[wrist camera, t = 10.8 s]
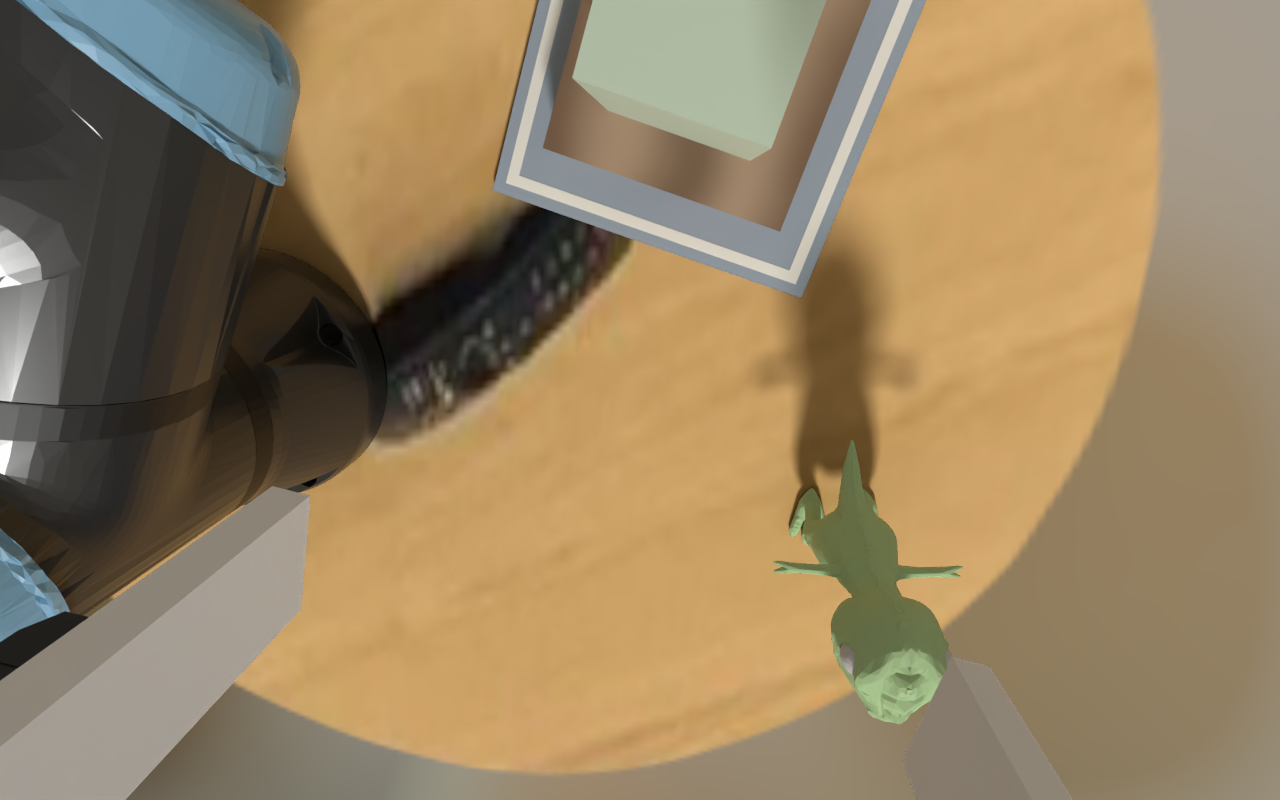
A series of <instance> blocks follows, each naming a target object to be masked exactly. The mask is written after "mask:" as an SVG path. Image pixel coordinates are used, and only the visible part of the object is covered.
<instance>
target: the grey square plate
mask: <svg viewBox="0 0 1280 800" xmlns="http://www.w3.org/2000/svg"><path fill="white" fill-rule="evenodd" d="M925 2H926V0H871V2H870V5H869V7H868V10H867V12H866V15H865V17H864V20H863V22H862V25H861V27H860V30H859V33H858V35H857V38H856V40H855V43H854V45H853V48H852V50H851V53H850V55H849V58H848V60H847V63H846V66H845V68H844V71H843V73H842V76H841V78H840V81H839V83H838V86H837V88H836V91H835V94H834V96H833V99H832V101H831V104H830V106H829V109H828V111H827V114H826V116H825V119H824V121H823V124H822V127H821V129H820V132H819V134H818V137H817V139H816V142H815V144H814V147H813V149H812V152H811V155H810V157H809V160H808V162H807V165H806V167H805V170H804V172H803V175H802V177H801V180H800V182H799V185H798V188H797V190H796V193H795V195H794V198H793V200H792V203H791V205H790V208H789V210H788V213H787V215H786V218H785V221H784V223H783V226H782V228H781V231H777V230H774V229H771V228H768V227H765V226H762V225H760V224H757V223H754V222H751V221H748V220H745V219H743V218H740V217H737V216H734V215H731V214H728V213H726V212H723V211H720V210H717V209H714V208H711V207H709V206H706V205H703V204H700V203H697V202H694V201H692V200H689V199H686V198H683V197H680V196H677V195H674V194H672V193H669V192H666V191H663V190H660V189H657V188H655V187H652V186H649V185H646V184H643V183H640V182H638V181H635V180H632V179H629V178H626V177H623V176H621V175H618V174H615V173H612V172H609V171H606V170H604V169H601V168H598V167H595V166H592V165H589V164H586V163H584V162H581V161H578V160H575V159H572V158H569V157H567V156H564V155H561V154H558V153H555V152H552V151H550V150H547V149H544V148H543V145H544V141H545V137H546V133H547V130H548V126H549V122H550V118H551V114H552V110H553V107H554V103H555V99H556V95H557V91H558V88H559V84H560V80H561V76H562V72H563V68H564V65H565V61H566V57H567V53H568V49H569V46H570V42H571V38H572V34H573V30H574V27H575V23H576V19H577V15H578V11H579V7H580V4H581V0H539V2H538V6H537V10H536V14H535V19H534V23H533V27H532V31H531V35H530V39H529V43H528V47H527V51H526V56H525V60H524V64H523V68H522V72H521V76H520V80H519V84H518V89H517V93H516V97H515V101H514V105H513V109H512V113H511V117H510V121H509V126H508V130H507V134H506V138H505V142H504V146H503V150H502V154H501V159H500V163H499V167H498V171H497V175H496V179H495V183H494V187H493V191H496V192H499V193H502V194H505V195H508V196H511V197H513V198H516V199H519V200H522V201H525V202H528V203H531V204H533V205H536V206H539V207H542V208H545V209H548V210H551V211H553V212H556V213H559V214H562V215H565V216H568V217H571V218H573V219H576V220H579V221H582V222H585V223H588V224H591V225H593V226H596V227H599V228H602V229H605V230H608V231H611V232H613V233H616V234H619V235H622V236H625V237H628V238H630V239H633V240H636V241H639V242H642V243H645V244H648V245H650V246H653V247H656V248H659V249H662V250H665V251H668V252H670V253H673V254H676V255H679V256H682V257H685V258H688V259H690V260H693V261H696V262H699V263H702V264H705V265H708V266H710V267H713V268H716V269H719V270H722V271H725V272H728V273H730V274H733V275H736V276H739V277H742V278H745V279H748V280H750V281H753V282H756V283H759V284H762V285H765V286H768V287H770V288H773V289H776V290H779V291H782V292H785V293H788V294H790V295H793V296H796V297H799V298H802V296H803V293H804V291H805V288H806V286H807V284H808V281H809V279H810V276H811V274H812V272H813V269H814V267H815V265H816V262H817V260H818V257H819V255H820V253H821V250H822V248H823V245H824V243H825V241H826V238H827V236H828V233H829V231H830V229H831V226H832V224H833V222H834V219H835V217H836V214H837V212H838V210H839V207H840V205H841V202H842V200H843V198H844V195H845V193H846V190H847V188H848V186H849V183H850V181H851V179H852V176H853V174H854V171H855V169H856V167H857V164H858V162H859V159H860V157H861V155H862V152H863V150H864V147H865V145H866V143H867V140H868V138H869V136H870V133H871V131H872V128H873V126H874V124H875V121H876V119H877V116H878V114H879V112H880V109H881V107H882V104H883V102H884V100H885V97H886V95H887V93H888V90H889V88H890V85H891V83H892V81H893V78H894V76H895V73H896V71H897V69H898V66H899V64H900V61H901V59H902V57H903V54H904V52H905V49H906V47H907V45H908V42H909V40H910V38H911V35H912V33H913V30H914V28H915V26H916V23H917V21H918V18H919V16H920V14H921V11H922V9H923V6H924V4H925Z"/></svg>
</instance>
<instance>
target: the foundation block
mask: <svg viewBox="0 0 1280 800" xmlns="http://www.w3.org/2000/svg"><path fill="white" fill-rule="evenodd" d="M592 1H593V0H581V4H580V7H579V11H578V15H577V19H576V23H575V27H574V30H573V34H572V38H571V42H570V46H569V49H568V53H567V57H566V61H565V65H564V68H563V72H562V76H561V80H560V84H559V88H558V91H557V95H556V99H555V103H554V107H553V110H552V114H551V118H550V122H549V126H548V130H547V133H546V137H545V141H544V145H543V148H544V149H547V150H550V151H552V152H555V153H558V154H561V155H564V156H567V157H569V158H572V159H575V160H578V161H581V162H584V163H586V164H589V165H592V166H595V167H598V168H601V169H604V170H606V171H609V172H612V173H615V174H618V175H621V176H623V177H626V178H629V179H632V180H635V181H638V182H640V183H643V184H646V185H649V186H652V187H655V188H657V189H660V190H663V191H666V192H669V193H672V194H674V195H677V196H680V197H683V198H686V199H689V200H692V201H694V202H697V203H700V204H703V205H706V206H709V207H711V208H714V209H717V210H720V211H723V212H726V213H728V214H731V215H734V216H737V217H740V218H743V219H745V220H748V221H751V222H754V223H757V224H760V225H762V226H765V227H768V228H771V229H774V230H777V231H781V228H782V226H783V223H784V221H785V218H786V215H787V213H788V210H789V208H790V205H791V203H792V200H793V198H794V195H795V193H796V190H797V188H798V185H799V182H800V180H801V177H802V175H803V172H804V170H805V167H806V165H807V162H808V160H809V157H810V155H811V152H812V149H813V147H814V144H815V142H816V139H817V137H818V134H819V132H820V129H821V127H822V124H823V121H824V119H825V116H826V114H827V111H828V109H829V106H830V104H831V101H832V99H833V96H834V94H835V91H836V88H837V86H838V83H839V81H840V78H841V76H842V73H843V71H844V68H845V66H846V63H847V60H848V58H849V55H850V53H851V50H852V48H853V45H854V43H855V40H856V38H857V35H858V33H859V30H860V27H861V25H862V22H863V20H864V17H865V15H866V12H867V10H868V7H869V5H870V2H871V0H826V3H825V6H824V8H823V11H822V14H821V16H820V19H819V22H818V25H817V27H816V30H815V33H814V35H813V38H812V41H811V43H810V46H809V49H808V51H807V54H806V57H805V59H804V62H803V65H802V68H801V70H800V73H799V76H798V78H797V81H796V84H795V86H794V89H793V92H792V94H791V97H790V100H789V102H788V105H787V108H786V111H785V113H784V116H783V119H782V121H781V124H780V127H779V129H778V132H777V135H776V137H775V140H774V143H773V145H772V148H771V149H769V150H768V151H766V152H764V153H763V154H761V155H759V156H758V157H756V158H754V159H753V160H751V161H749V160H746V159H744V158H741V157H738V156H735V155H732V154H729V153H727V152H724V151H721V150H718V149H715V148H712V147H710V146H707V145H704V144H701V143H698V142H695V141H693V140H690V139H687V138H684V137H681V136H678V135H676V134H673V133H670V132H667V131H664V130H661V129H659V128H656V127H653V126H650V125H647V124H644V123H642V122H639V121H636V120H633V119H630V118H628V117H625V116H622V115H619V114H616V113H613V112H611V111H608V110H607V109H606V108H605V107H604V106H602V105H601V104H600V103H599V102H598V101H597V100H596V99H595V98H594V97H593V96H591V95H590V94H589V93H588V92H587V91H586V90H585V89H584V88H583V87H582V86H581V85H579V84H578V83H577V82H576V81H575V80H574V79H573V78H572V77H573V73H574V69H575V65H576V62H577V58H578V54H579V50H580V47H581V43H582V39H583V35H584V32H585V28H586V24H587V20H588V16H589V13H590V9H591V5H592Z"/></svg>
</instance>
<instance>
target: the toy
mask: <svg viewBox="0 0 1280 800" xmlns="http://www.w3.org/2000/svg"><path fill="white" fill-rule="evenodd" d="M802 523H803V529H802V540H803V543H804V544H808V545H809V546H810V547H811V548H812V550H813V552H814V554H815V556H816V558H817V559H818V561H819V563H820V564H818V565H815V564H802V563H790V562H783V561H773V563H775V564H777V565H780V566H782V567H781V568H779V569H776V570H774V572H776V573H785V574H787V573H807V574H818V575H825V576H831V577H836V578H837V579H838V580H839V582H840V583H841V584H842V585H843V586H844V587H845V588H846V589H847V590H848V592H849V593H851V595H852V598H848V599H846V600H845V601H843V602H842V603H841V604H840V605H839V606H838V608H837V609H836V611H835V613H834V615H833V618H832V621H831V633H832V638H831V640H832V642H833V653H834V655H835V657H836V659H837V661H838V663H839V666H840V668H841V669H842V670H843V672H844V673H845V675H846V677H847V678H848V680H849V682H850V683H851V685H852V687H853V688H854V690H855V692H856V693H857V695H858V696H859V697H860V699H861V700H862V702H863V704H864V705H865V707H866V709H867V711H868V713H869V714H870V715H871V716H872V717H873V718H877V719H880V720H883V721H885V722H892V723H893V722H894V723H896V724H902V722H904V721H906V720H907V719H908V717H909V716H910V714H911V713H913V712H915V711H916V710H917V709H918V708H920V707H921V706H923V705H924V704H926V703H928V702H930V701H931V699H932V697H933V695H934V693H935V691H936V689H937V687H938V685H939V683H940V681H941V679H942V677H943V675H944V673H945V671H946V669H947V667H948V665H949V663H950V661H951V659H952V654H951V652H950V651H949V650H948V646H949V645H948V642H947V641H946V640H945V638H944V635H943V632H942V631H941V628H940V626H939V623H938V621H937V619H936V617H935V616H934V614H933V613H932V611H931V610H930V609H929V608H928V607H926V606H925V605H924V604H922V603H920V602H918V601H916V600H913V599H909V598H905V597H903V596H902V595H901V594H900V592H899V590H898V588H897V585H896V582H897V581H898V580H899V579H909V578H919V577H942V578H947V577H953V578H959V577H960V575H958V574H956V573H954V572H956V571H958V570H960V569H962V568H963V567H962V566H948V567H910V566H900V565H898V550H897V540H896V536H895V534H894V532H893V530H892V529H891V528H890V526H889V525H888V524H887V523H886V522H885V521H883V520H882V519H881V518H879V517H878V514H877V507H876V503H875V502H874V500H873V499H872V497H871V496H870V495H869V493H868V492H867V491H866V490H864V489H863V486H862V479H861V473H860V466H859V462H858V457H857V452H856V448H855V443H854V440H851V441H850V445H849V448H848V452H847V455H846V459H845V463H844V466H843V471H842V479H841V486H840V494H839V502H838V507H837V508H836V509H835V511H833V512H831V513H830V514H828V515H827V516H825V517H824V513H823V508H822V504H821V501H820V499H819V497H818V495H817V493H816V492H815V490H814V489H813V488H811V489H809V490H808V491H807V492H806V493H805V494H804V495H803V496H802V498H801V499H800V500H799V503H798V506H797V509H796V511H795V514H794V517H793V520H792V522H791V525H790V528H789V532H790V535H791V536H792V537H794V536H796V535H797V534H798V532H799V531H800V529H801V526H802Z"/></svg>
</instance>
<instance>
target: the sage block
mask: <svg viewBox="0 0 1280 800" xmlns="http://www.w3.org/2000/svg"><path fill="white" fill-rule="evenodd" d="M825 3H826V0H593V1H592V5H591V9H590V13H589V16H588V20H587V24H586V28H585V32H584V35H583V39H582V43H581V47H580V50H579V54H578V58H577V62H576V65H575V69H574V73H573V77H572V78H573V79H574V80H575V81H576V82H577V83H578V84H579V85H581V86H582V87H583V88H584V89H585V90H586V91H587V92H588V93H589V94H590V95H591V96H593V97H594V98H595V99H596V100H597V101H598V102H599V103H600V104H601V105H602V106H604V107H605V108H606V109H607V110H608V111H611V112H613V113H616V114H619V115H622V116H625V117H628V118H630V119H633V120H636V121H639V122H642V123H644V124H647V125H650V126H653V127H656V128H659V129H661V130H664V131H667V132H670V133H673V134H676V135H678V136H681V137H684V138H687V139H690V140H693V141H695V142H698V143H701V144H704V145H707V146H710V147H712V148H715V149H718V150H721V151H724V152H727V153H729V154H732V155H735V156H738V157H741V158H744V159H746V160H749V161H751V160H753V159H754V158H756V157H758V156H759V155H761V154H763V153H764V152H766V151H768V150H769V149H771V148H772V145H773V143H774V140H775V137H776V135H777V132H778V129H779V127H780V124H781V121H782V119H783V116H784V113H785V111H786V108H787V105H788V102H789V100H790V97H791V94H792V92H793V89H794V86H795V84H796V81H797V78H798V76H799V73H800V70H801V68H802V65H803V62H804V59H805V57H806V54H807V51H808V49H809V46H810V43H811V41H812V38H813V35H814V33H815V30H816V27H817V25H818V22H819V19H820V16H821V14H822V11H823V8H824V6H825Z"/></svg>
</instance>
